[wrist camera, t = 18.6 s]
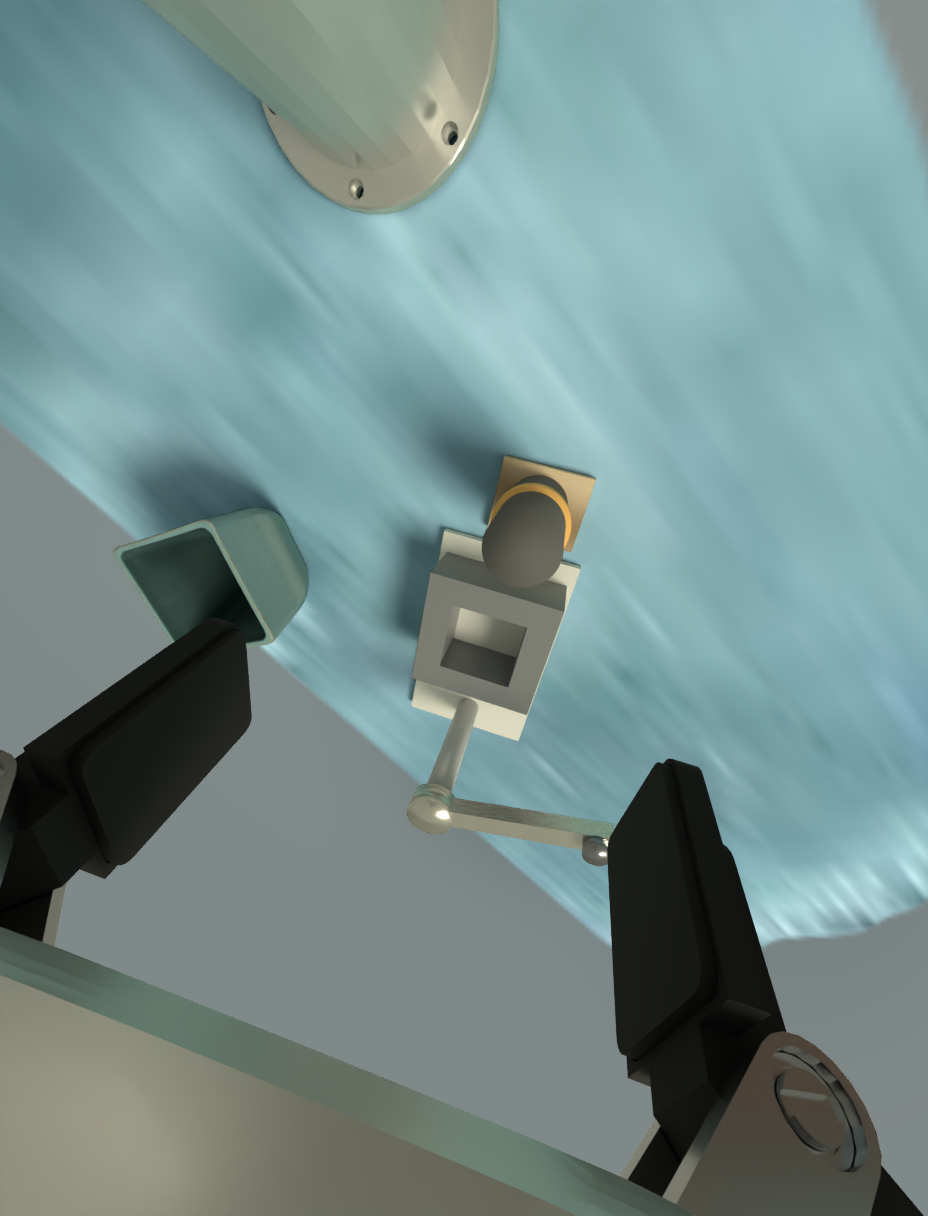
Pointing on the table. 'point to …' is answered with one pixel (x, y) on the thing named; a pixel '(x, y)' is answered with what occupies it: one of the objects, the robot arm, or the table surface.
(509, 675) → the socket plate
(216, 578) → the flower pot
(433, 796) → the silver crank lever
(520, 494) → the plug
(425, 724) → the table surface
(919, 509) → the table surface
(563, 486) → the cork mat
